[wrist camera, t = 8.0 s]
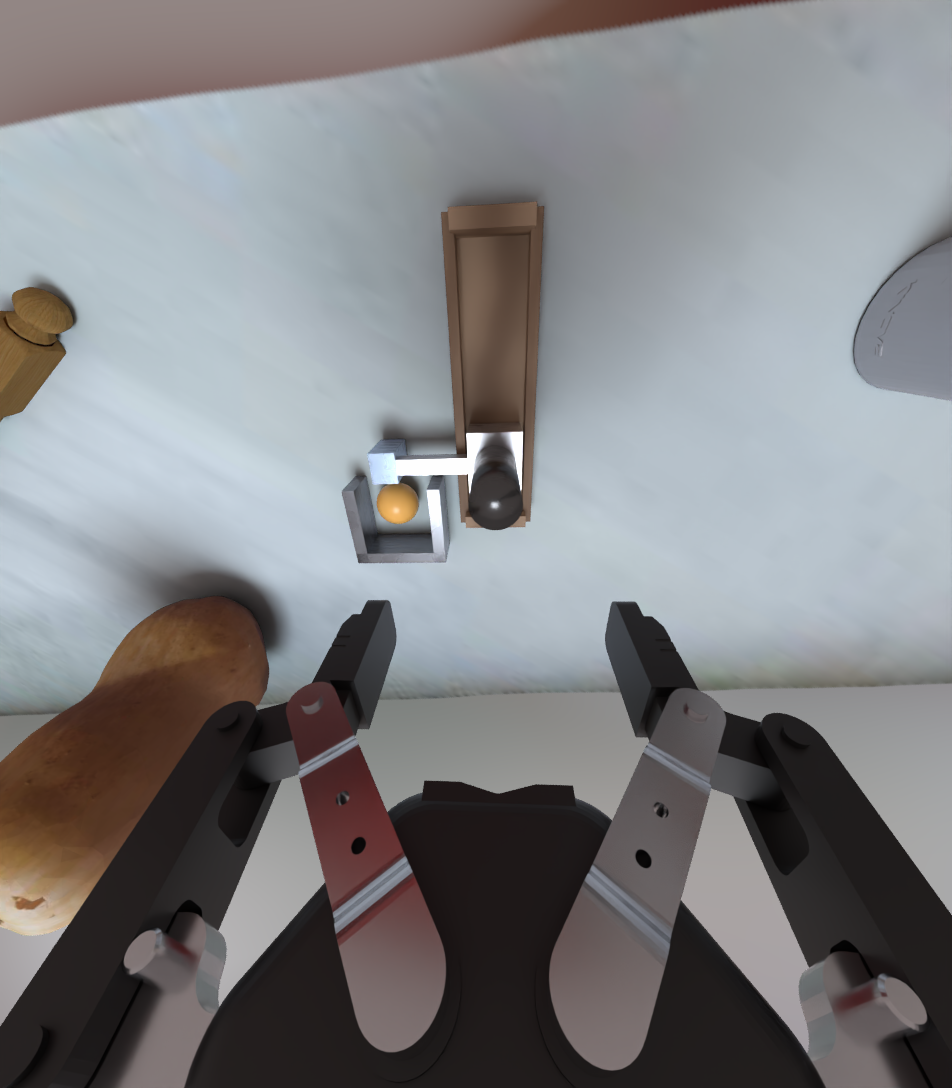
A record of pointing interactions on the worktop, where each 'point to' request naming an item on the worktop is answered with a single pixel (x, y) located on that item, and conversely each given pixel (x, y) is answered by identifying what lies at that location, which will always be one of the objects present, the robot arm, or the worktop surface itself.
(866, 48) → the worktop surface
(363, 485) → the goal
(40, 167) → the worktop surface
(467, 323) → the brown long open box
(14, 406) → the tap handle
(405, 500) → the ball
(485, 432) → the kicker
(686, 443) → the worktop surface
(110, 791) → the butternut squash
